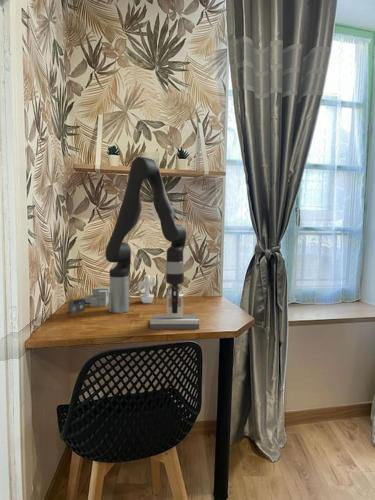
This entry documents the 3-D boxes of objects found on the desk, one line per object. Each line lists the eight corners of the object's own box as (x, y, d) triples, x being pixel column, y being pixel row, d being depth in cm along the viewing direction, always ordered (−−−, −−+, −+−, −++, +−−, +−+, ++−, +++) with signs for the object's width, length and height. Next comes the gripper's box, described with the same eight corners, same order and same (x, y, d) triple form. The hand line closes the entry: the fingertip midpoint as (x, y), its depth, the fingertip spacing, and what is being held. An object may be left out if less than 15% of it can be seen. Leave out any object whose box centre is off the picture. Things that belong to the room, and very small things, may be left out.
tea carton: (183, 317, 130) (183, 296, 130) (166, 317, 130) (166, 296, 129) (182, 314, 135) (183, 293, 134) (166, 314, 135) (166, 293, 134)
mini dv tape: (82, 310, 153) (82, 298, 152) (84, 310, 152) (84, 298, 151) (68, 313, 146) (68, 301, 145) (70, 314, 145) (70, 301, 144)
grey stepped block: (86, 301, 170) (86, 287, 169) (109, 301, 171) (108, 287, 171) (82, 307, 158) (81, 292, 158) (106, 306, 160) (105, 291, 159)
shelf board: (150, 328, 126) (150, 320, 125) (152, 319, 137) (152, 311, 137) (199, 328, 126) (199, 320, 126) (197, 319, 138) (197, 311, 138)
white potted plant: (138, 300, 172) (138, 274, 171) (155, 300, 173) (155, 273, 172) (138, 304, 165) (138, 276, 164) (156, 303, 166) (156, 275, 165)
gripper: (184, 274, 124) (184, 316, 125) (183, 269, 138) (183, 307, 140) (165, 274, 124) (165, 316, 125) (166, 269, 138) (166, 307, 139)
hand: (174, 311), depth 132 cm, fingers closed on tea carton, 4 cm apart
